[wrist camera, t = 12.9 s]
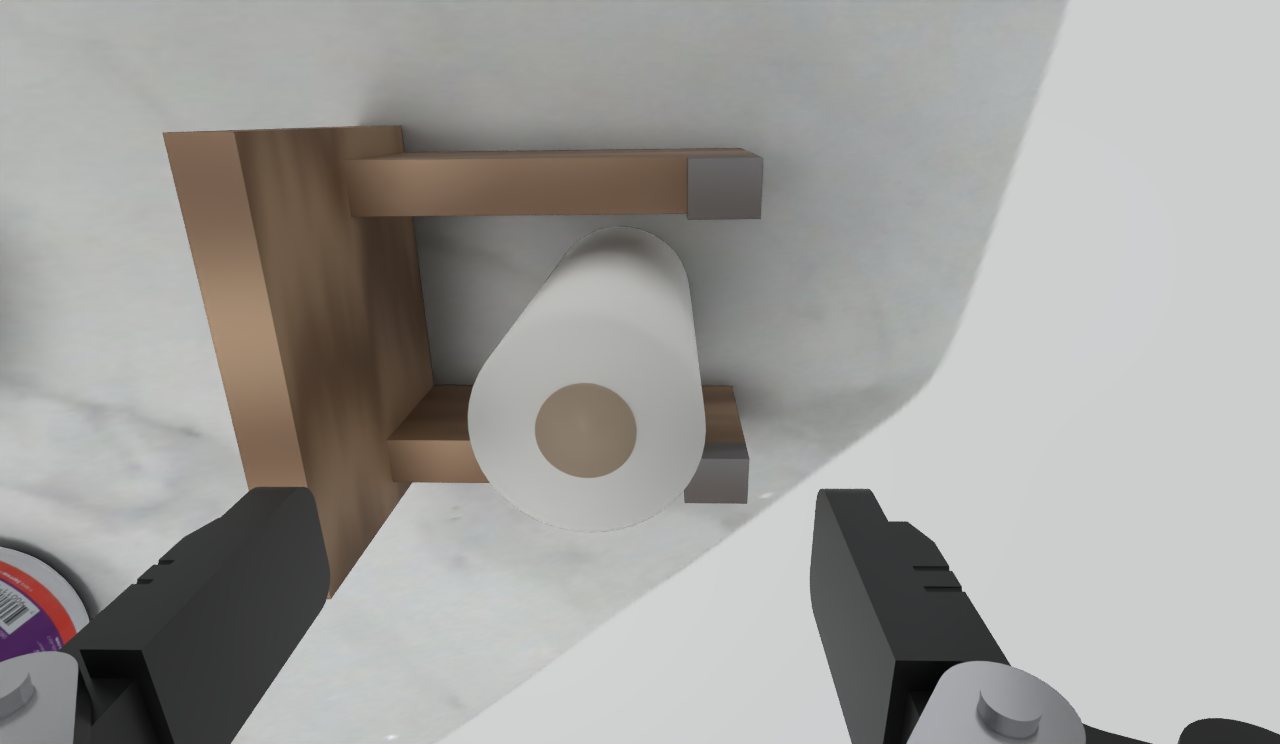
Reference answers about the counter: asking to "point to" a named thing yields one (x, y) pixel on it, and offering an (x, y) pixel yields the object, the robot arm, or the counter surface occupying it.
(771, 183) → the counter surface
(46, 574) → the pill bottle
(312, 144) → the holder
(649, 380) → the roll
